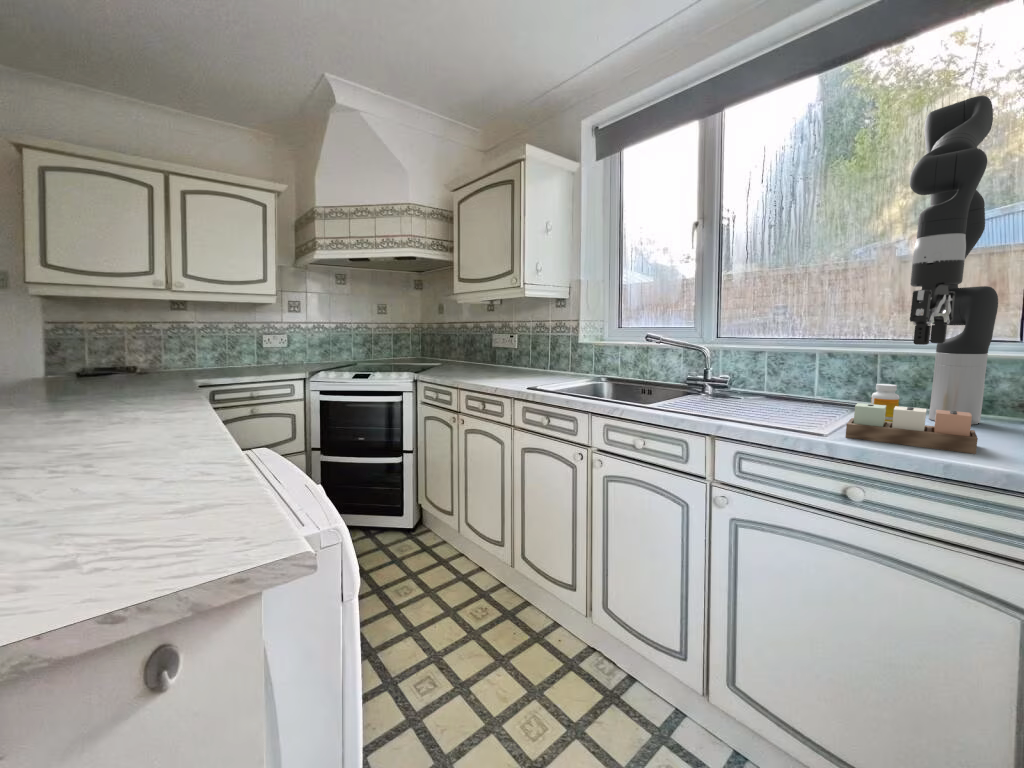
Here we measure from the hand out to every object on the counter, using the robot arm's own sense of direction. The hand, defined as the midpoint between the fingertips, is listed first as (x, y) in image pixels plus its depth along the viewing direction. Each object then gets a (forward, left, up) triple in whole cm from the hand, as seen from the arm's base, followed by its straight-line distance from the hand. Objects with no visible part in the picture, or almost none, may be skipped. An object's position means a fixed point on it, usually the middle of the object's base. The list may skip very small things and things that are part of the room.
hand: (929, 343), depth 91 cm
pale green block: (+3, -8, -18) cm, 20 cm away
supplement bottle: (-14, -16, -21) cm, 30 cm away
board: (0, -2, -20) cm, 21 cm away
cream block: (0, -2, -18) cm, 18 cm away
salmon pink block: (-3, +3, -18) cm, 18 cm away
